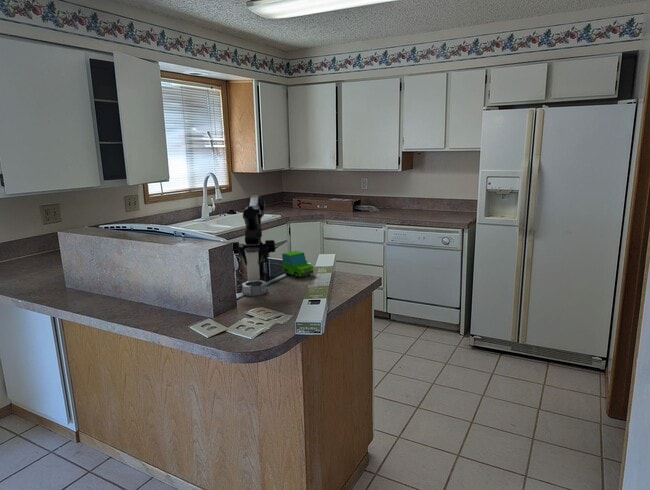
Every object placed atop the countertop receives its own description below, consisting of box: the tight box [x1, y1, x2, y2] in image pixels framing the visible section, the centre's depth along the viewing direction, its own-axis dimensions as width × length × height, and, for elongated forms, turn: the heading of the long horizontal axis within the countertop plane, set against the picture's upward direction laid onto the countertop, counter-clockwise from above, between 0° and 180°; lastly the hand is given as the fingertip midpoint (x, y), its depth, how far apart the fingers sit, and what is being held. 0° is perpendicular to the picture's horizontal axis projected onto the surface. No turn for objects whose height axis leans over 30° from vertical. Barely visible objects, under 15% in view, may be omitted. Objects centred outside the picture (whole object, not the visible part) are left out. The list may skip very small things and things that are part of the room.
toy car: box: [281, 250, 314, 279], centre depth 208 cm, size 10×13×10 cm
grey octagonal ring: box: [240, 279, 269, 297], centre depth 186 cm, size 11×11×4 cm
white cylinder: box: [245, 247, 261, 281], centre depth 184 cm, size 5×5×13 cm
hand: (252, 264), depth 182 cm, fingers closed on white cylinder, 5 cm apart
